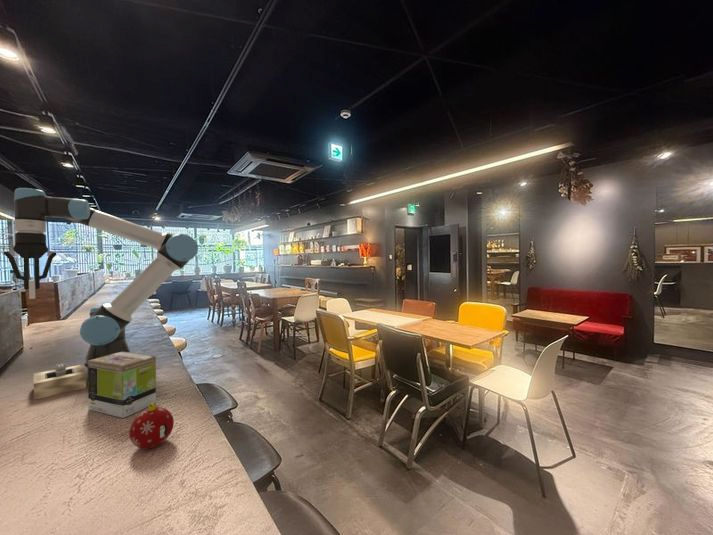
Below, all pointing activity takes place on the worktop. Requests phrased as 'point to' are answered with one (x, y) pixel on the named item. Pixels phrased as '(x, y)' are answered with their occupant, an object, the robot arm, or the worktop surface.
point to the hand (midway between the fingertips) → (32, 298)
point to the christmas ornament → (151, 427)
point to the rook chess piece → (60, 369)
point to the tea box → (121, 383)
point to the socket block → (59, 382)
